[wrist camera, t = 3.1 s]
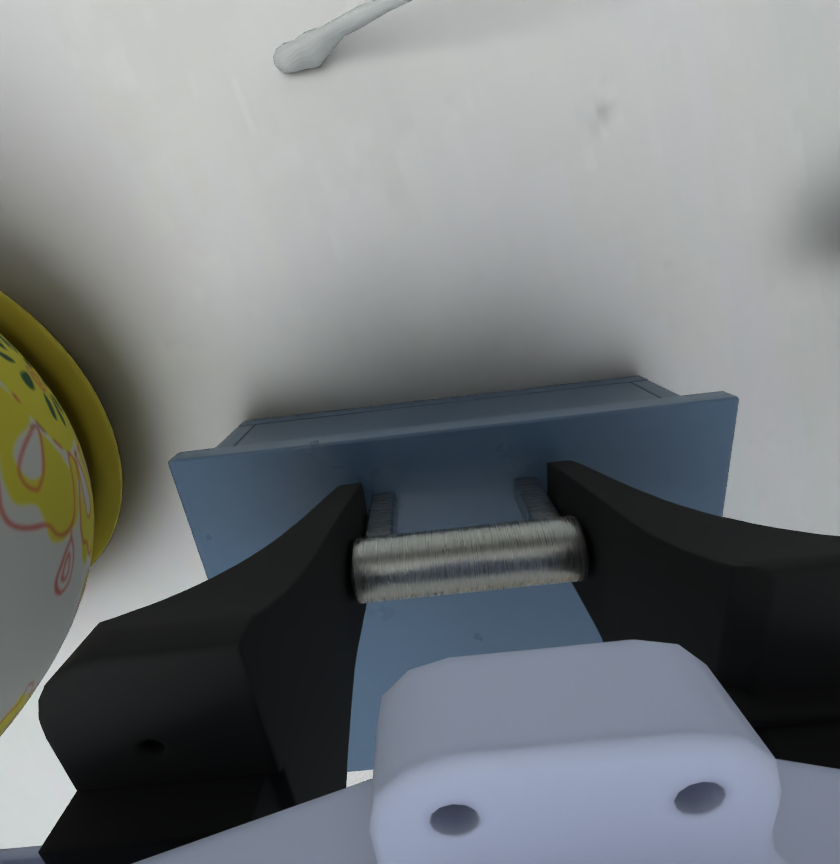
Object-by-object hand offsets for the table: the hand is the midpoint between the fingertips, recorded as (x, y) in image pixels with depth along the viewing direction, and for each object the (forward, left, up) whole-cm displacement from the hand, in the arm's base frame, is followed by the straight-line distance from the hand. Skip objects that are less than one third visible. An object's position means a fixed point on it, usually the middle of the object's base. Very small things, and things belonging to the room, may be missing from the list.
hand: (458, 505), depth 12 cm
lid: (0, +5, -1) cm, 5 cm away
